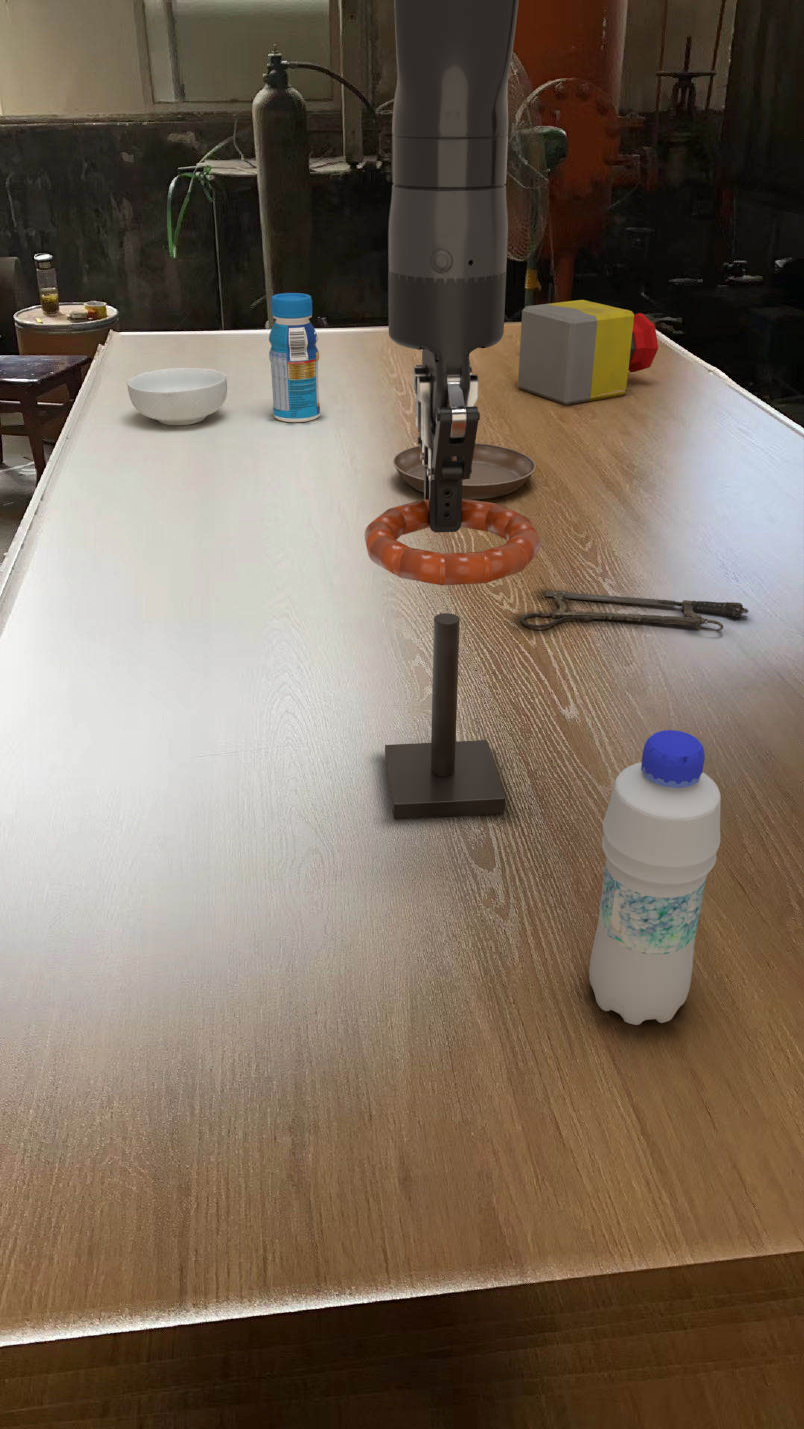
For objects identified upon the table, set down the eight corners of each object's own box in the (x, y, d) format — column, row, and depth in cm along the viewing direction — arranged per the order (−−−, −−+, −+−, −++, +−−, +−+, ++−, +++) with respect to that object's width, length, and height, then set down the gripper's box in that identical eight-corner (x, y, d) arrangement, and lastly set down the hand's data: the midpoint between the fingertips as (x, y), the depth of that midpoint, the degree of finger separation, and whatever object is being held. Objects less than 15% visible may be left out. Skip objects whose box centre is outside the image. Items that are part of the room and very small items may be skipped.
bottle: (643, 952, 74) (681, 697, 64) (711, 1017, 69) (764, 750, 59) (562, 986, 71) (589, 724, 61) (626, 1056, 66) (667, 783, 56)
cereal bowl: (162, 403, 198) (158, 363, 194) (245, 411, 193) (243, 370, 190) (113, 428, 184) (107, 385, 180) (201, 437, 179) (197, 393, 176)
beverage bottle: (263, 420, 188) (256, 298, 178) (286, 408, 195) (281, 290, 185) (307, 425, 185) (302, 302, 175) (329, 413, 192) (325, 293, 182)
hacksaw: (747, 613, 121) (749, 600, 120) (748, 654, 112) (751, 641, 112) (531, 590, 126) (532, 578, 125) (517, 628, 118) (518, 615, 117)
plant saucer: (506, 456, 170) (507, 436, 169) (555, 500, 153) (557, 477, 152) (378, 467, 166) (378, 445, 164) (414, 512, 149) (415, 489, 147)
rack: (486, 754, 96) (494, 592, 88) (504, 813, 88) (515, 642, 80) (384, 759, 95) (383, 596, 87) (393, 819, 87) (393, 647, 79)
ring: (518, 518, 79) (520, 491, 78) (554, 585, 69) (557, 556, 68) (359, 524, 78) (359, 498, 77) (373, 594, 68) (373, 564, 67)
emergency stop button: (664, 389, 208) (675, 306, 200) (565, 406, 197) (572, 319, 189) (612, 373, 219) (620, 294, 211) (515, 388, 208) (520, 306, 200)
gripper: (528, 280, 63) (512, 558, 72) (486, 248, 75) (477, 490, 84) (400, 282, 63) (400, 563, 71) (378, 249, 74) (380, 493, 83)
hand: (442, 522), depth 78 cm, fingers closed on ring, 2 cm apart
